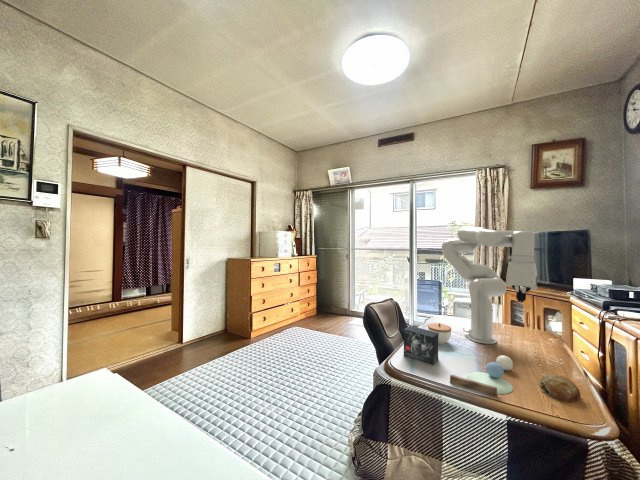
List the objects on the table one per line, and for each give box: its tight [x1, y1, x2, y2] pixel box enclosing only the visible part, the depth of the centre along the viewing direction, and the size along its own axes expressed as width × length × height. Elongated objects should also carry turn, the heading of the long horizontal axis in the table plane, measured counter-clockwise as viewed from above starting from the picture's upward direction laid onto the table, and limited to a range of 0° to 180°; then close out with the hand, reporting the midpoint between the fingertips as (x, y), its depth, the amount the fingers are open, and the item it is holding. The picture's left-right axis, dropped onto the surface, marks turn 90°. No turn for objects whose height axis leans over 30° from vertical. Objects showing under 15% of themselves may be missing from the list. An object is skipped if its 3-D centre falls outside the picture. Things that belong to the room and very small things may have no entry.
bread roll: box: [539, 373, 581, 404], centre depth 88 cm, size 10×10×8 cm
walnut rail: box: [449, 374, 498, 397], centre depth 91 cm, size 14×1×2 cm, turn 54°
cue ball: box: [495, 354, 514, 371], centre depth 104 cm, size 6×6×6 cm
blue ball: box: [485, 361, 505, 378], centre depth 98 cm, size 6×6×6 cm
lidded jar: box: [427, 322, 452, 345], centre depth 132 cm, size 11×11×9 cm
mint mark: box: [466, 371, 514, 395], centre depth 94 cm, size 14×14×1 cm
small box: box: [403, 325, 439, 366], centre depth 114 cm, size 13×7×12 cm, turn 46°
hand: (521, 301), depth 113 cm, fingers closed
